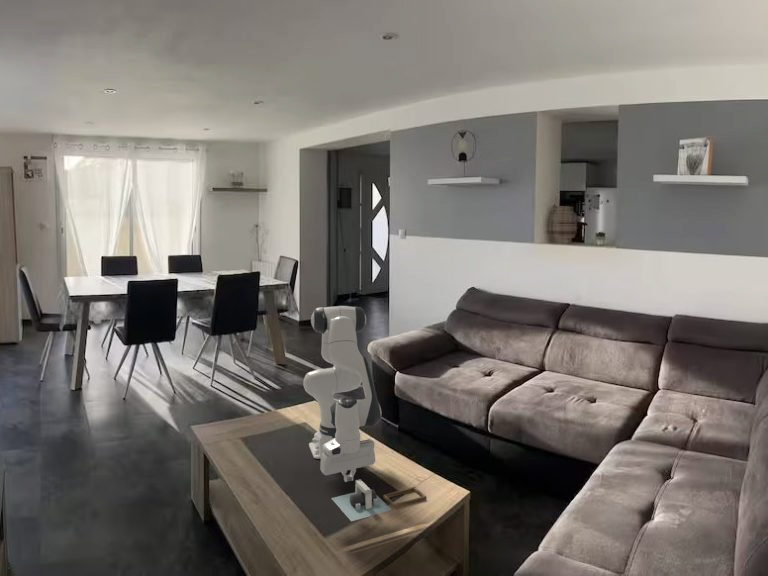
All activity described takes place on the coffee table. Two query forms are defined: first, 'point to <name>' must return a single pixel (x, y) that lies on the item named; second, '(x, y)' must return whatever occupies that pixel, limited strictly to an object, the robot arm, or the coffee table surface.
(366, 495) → the u-shaped staple bracket
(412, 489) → the tray
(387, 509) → the clip board
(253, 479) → the coffee table surface
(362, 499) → the dark grey rounded bar
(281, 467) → the coffee table surface
